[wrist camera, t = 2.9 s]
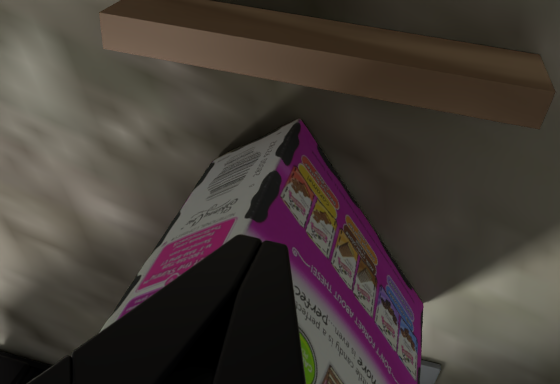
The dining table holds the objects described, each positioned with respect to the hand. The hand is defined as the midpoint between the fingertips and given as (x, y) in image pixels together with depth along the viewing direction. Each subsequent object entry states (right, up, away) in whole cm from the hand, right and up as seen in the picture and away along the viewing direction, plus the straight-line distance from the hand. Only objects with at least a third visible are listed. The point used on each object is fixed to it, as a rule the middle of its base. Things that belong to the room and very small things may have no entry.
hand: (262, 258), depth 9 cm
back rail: (+2, +7, +10) cm, 12 cm away
